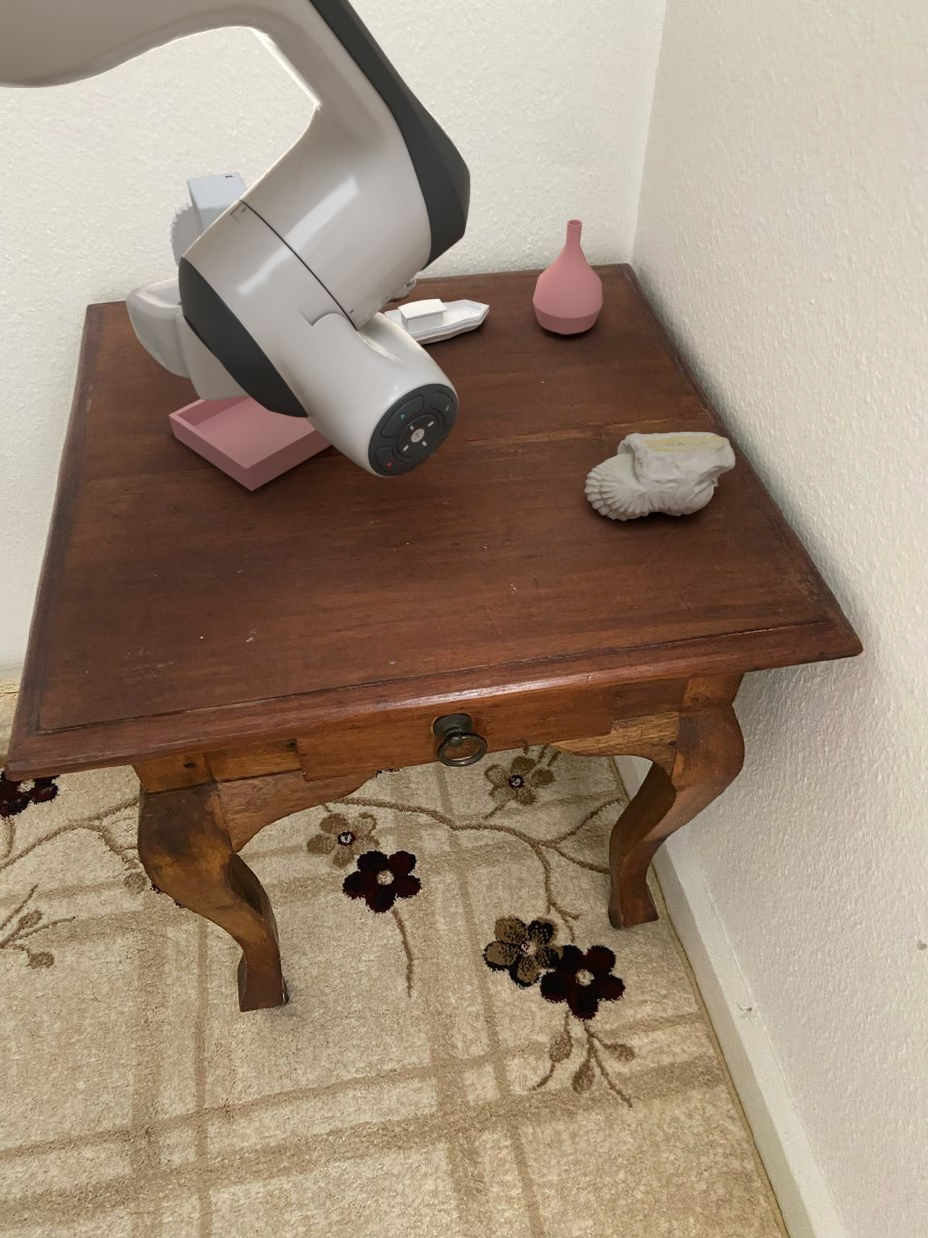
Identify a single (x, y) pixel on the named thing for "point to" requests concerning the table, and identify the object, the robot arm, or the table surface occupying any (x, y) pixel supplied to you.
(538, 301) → the pink vase
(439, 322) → the white toy boat
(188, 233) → the chess piece
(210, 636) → the table surface
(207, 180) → the cosmetic box
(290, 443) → the tray
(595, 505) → the fossil replica
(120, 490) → the table surface
